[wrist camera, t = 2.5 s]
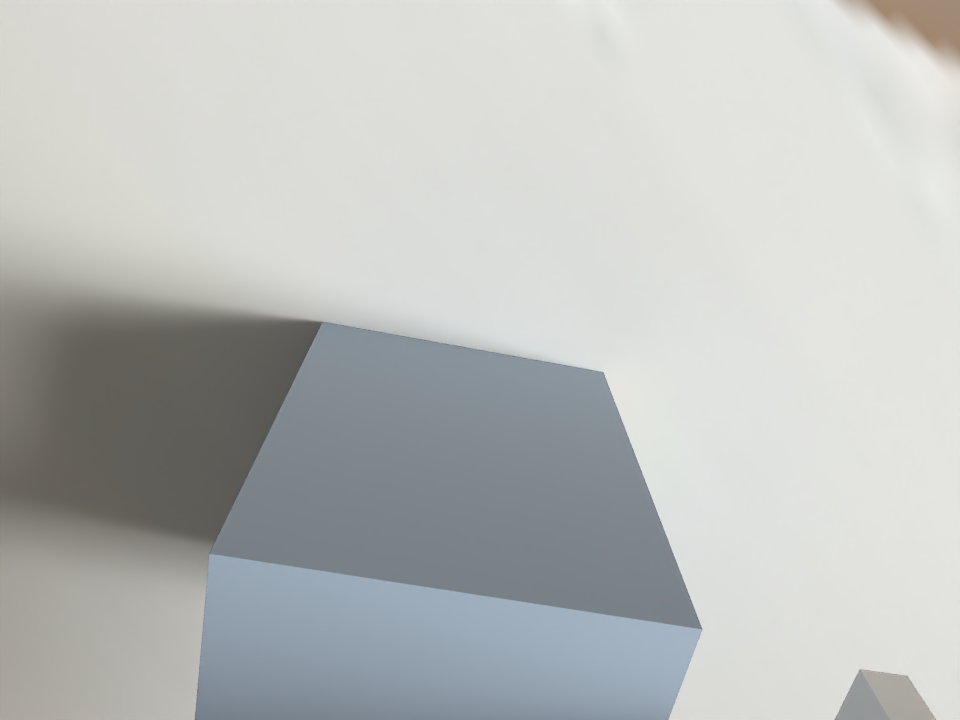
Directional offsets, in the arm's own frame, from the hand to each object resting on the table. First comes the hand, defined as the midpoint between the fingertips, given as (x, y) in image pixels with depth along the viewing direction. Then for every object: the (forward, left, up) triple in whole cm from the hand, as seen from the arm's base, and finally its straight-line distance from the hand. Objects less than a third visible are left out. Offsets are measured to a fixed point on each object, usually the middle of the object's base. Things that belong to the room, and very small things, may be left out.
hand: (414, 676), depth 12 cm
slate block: (0, 0, -7) cm, 7 cm away
